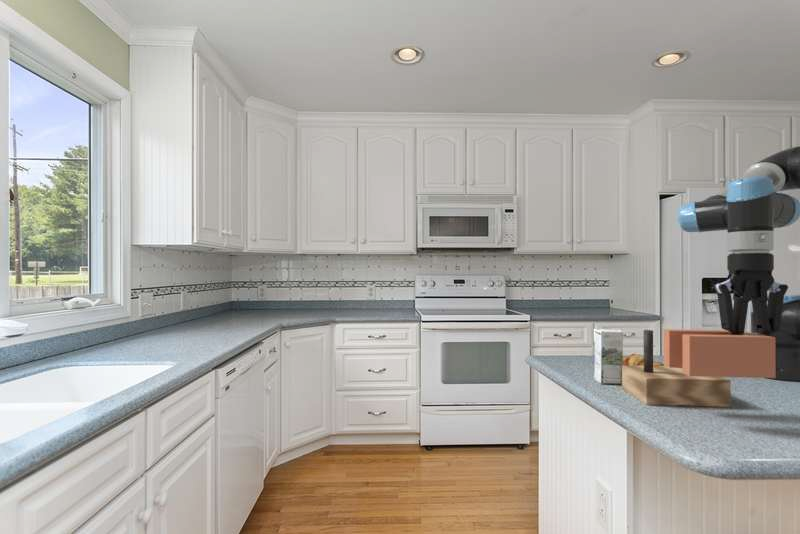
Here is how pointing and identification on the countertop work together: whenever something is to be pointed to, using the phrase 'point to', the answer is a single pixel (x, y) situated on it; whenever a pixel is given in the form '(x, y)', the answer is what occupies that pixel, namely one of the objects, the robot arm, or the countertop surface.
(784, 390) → the countertop surface
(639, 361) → the croissant
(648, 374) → the stand
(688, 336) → the c link
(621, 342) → the syrup box
